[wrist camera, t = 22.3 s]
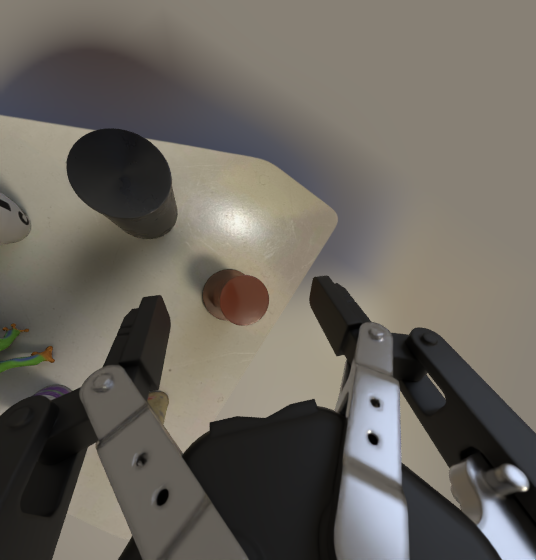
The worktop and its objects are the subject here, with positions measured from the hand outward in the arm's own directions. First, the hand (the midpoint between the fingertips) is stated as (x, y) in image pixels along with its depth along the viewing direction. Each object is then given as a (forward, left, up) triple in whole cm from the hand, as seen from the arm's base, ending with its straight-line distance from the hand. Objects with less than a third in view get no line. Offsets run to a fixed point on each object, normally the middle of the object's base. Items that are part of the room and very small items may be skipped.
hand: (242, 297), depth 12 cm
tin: (-16, +1, -27) cm, 31 cm away
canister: (+3, +2, -26) cm, 26 cm away
